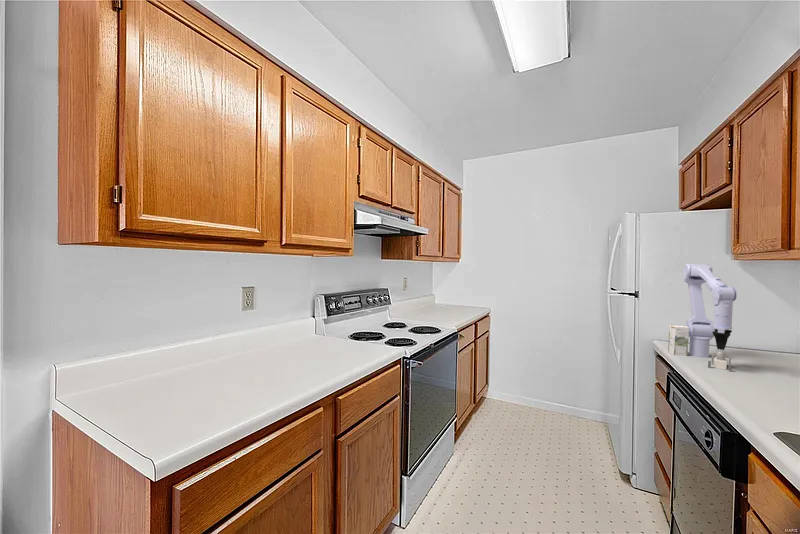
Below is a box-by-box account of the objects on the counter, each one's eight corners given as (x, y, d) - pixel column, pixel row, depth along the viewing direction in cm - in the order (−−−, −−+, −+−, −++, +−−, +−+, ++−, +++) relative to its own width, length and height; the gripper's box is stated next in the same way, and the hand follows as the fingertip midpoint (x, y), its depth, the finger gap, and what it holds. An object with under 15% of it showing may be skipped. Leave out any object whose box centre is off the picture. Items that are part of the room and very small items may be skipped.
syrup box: (681, 354, 177) (682, 324, 176) (687, 357, 171) (689, 326, 170) (667, 353, 178) (669, 323, 177) (673, 356, 172) (675, 326, 172)
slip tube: (715, 363, 160) (715, 348, 159) (727, 365, 157) (728, 350, 157) (713, 367, 154) (714, 352, 154) (726, 369, 151) (727, 354, 151)
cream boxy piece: (712, 363, 161) (712, 353, 160) (730, 366, 156) (731, 356, 156) (711, 364, 158) (711, 354, 158) (730, 367, 154) (730, 357, 154)
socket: (708, 367, 154) (708, 360, 154) (731, 371, 149) (731, 364, 149) (707, 367, 153) (708, 361, 153) (731, 372, 148) (731, 365, 148)
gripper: (712, 312, 162) (710, 343, 163) (708, 316, 152) (707, 348, 152) (733, 314, 157) (732, 346, 158) (731, 318, 147) (730, 352, 147)
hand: (721, 347), depth 155 cm, fingers open, 7 cm apart
